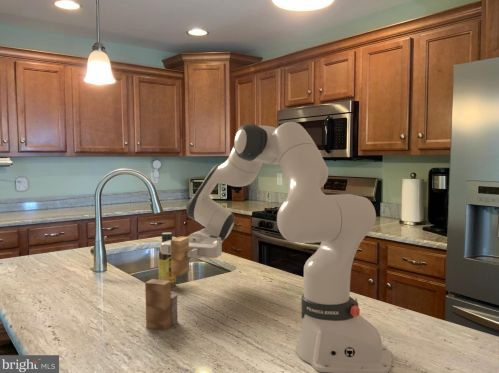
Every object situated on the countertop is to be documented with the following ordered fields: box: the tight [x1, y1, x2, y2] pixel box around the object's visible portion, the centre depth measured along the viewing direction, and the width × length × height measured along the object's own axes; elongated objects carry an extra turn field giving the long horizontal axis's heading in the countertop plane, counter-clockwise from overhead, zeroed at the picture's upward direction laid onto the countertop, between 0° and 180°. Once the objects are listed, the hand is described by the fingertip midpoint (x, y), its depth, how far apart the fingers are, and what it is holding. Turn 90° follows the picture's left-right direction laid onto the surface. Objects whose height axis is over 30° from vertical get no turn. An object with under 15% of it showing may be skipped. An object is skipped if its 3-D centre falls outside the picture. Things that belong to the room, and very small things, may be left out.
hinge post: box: [144, 278, 178, 331], centre depth 114 cm, size 7×6×13 cm
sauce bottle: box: [158, 232, 177, 288], centre depth 148 cm, size 7×6×20 cm
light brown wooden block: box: [171, 236, 190, 277], centre depth 125 cm, size 3×6×11 cm, turn 163°
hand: (180, 254), depth 125 cm, fingers closed on light brown wooden block, 3 cm apart
